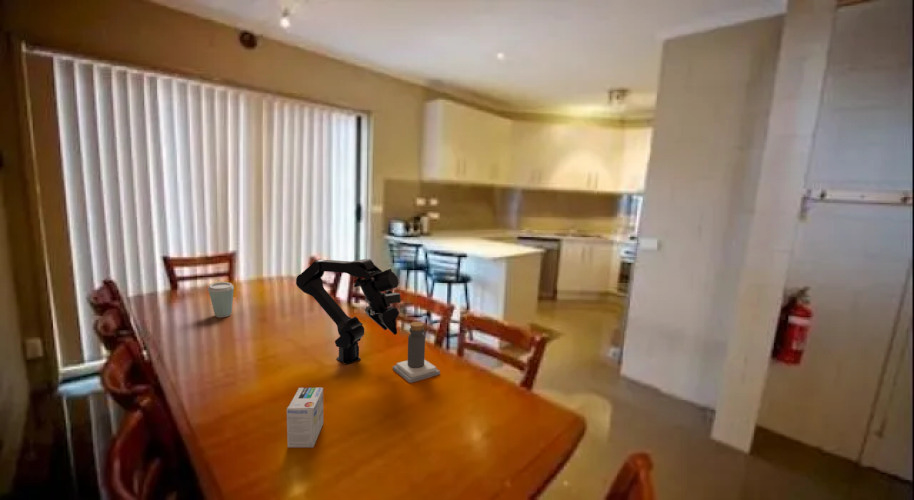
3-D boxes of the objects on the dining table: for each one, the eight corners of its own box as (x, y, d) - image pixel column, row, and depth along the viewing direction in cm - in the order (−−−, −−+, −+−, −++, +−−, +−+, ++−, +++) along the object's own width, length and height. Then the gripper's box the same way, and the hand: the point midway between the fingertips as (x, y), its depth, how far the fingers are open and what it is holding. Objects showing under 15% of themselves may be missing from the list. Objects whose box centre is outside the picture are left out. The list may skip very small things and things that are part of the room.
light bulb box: (299, 423, 114) (298, 386, 112) (324, 423, 114) (323, 386, 113) (286, 448, 103) (285, 408, 102) (314, 448, 104) (313, 408, 102)
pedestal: (410, 383, 139) (410, 376, 138) (392, 369, 148) (392, 362, 148) (439, 374, 146) (440, 367, 145) (421, 361, 155) (421, 355, 155)
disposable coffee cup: (240, 315, 196) (238, 284, 194) (217, 321, 187) (215, 288, 185) (227, 310, 202) (226, 280, 199) (204, 316, 193) (202, 284, 190)
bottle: (421, 369, 143) (422, 327, 141) (405, 367, 145) (406, 325, 142) (426, 362, 149) (427, 322, 147) (410, 360, 150) (411, 320, 148)
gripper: (402, 285, 143) (420, 324, 146) (382, 281, 159) (399, 316, 162) (374, 301, 138) (393, 341, 141) (357, 295, 154) (374, 331, 157)
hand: (390, 331), depth 151 cm, fingers open, 9 cm apart
